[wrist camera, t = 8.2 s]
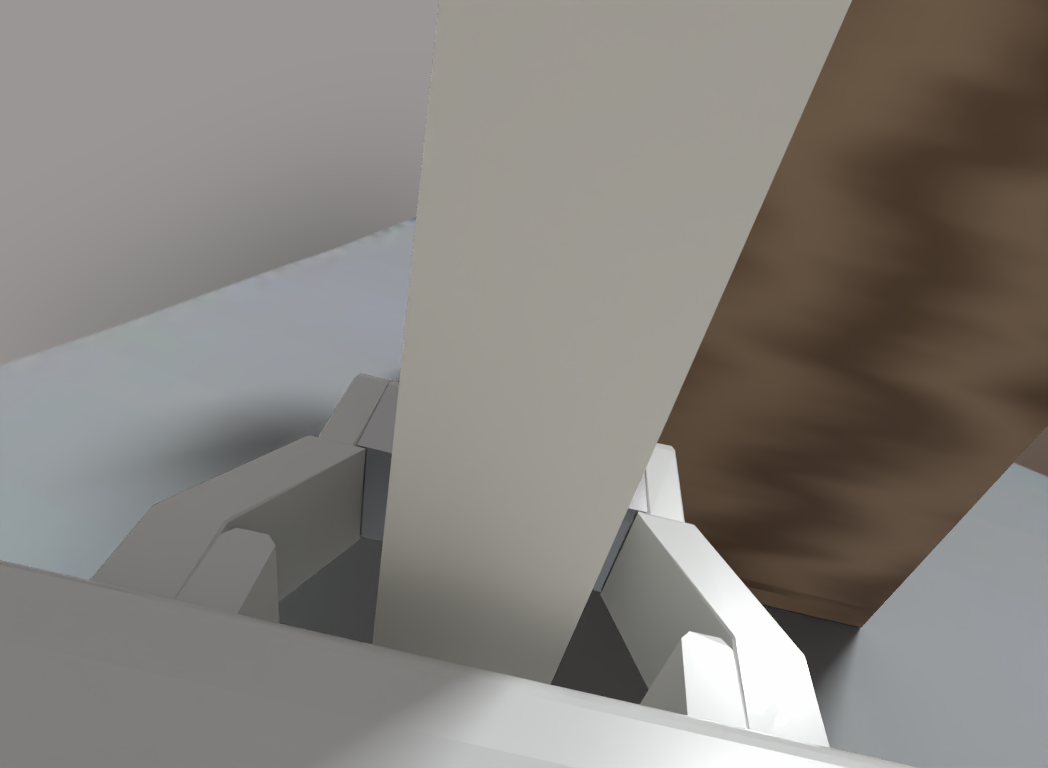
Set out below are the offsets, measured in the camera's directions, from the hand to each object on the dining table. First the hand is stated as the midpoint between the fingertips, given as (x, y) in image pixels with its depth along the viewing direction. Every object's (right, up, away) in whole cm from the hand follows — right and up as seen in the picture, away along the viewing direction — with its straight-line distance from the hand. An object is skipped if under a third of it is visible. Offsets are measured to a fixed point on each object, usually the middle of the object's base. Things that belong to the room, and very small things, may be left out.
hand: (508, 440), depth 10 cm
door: (-2, -7, +7) cm, 10 cm away
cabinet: (+6, -3, +20) cm, 21 cm away
